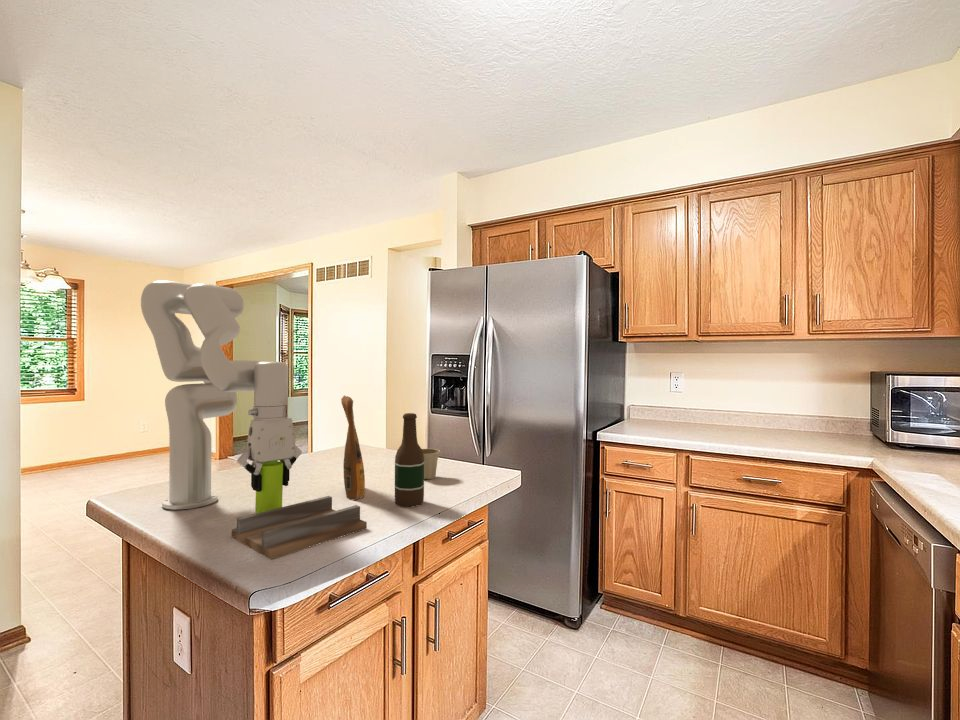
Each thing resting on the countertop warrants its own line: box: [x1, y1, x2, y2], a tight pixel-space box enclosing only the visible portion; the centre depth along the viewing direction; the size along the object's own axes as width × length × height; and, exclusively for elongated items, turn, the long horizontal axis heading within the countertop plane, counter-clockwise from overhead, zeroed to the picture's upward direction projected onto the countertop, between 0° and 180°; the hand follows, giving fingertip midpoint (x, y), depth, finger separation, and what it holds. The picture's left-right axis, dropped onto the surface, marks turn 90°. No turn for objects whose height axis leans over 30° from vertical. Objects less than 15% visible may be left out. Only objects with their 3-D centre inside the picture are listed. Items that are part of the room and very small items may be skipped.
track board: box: [231, 495, 368, 560], centre depth 104 cm, size 18×22×4 cm
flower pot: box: [421, 448, 441, 481], centre depth 154 cm, size 9×9×9 cm
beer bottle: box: [394, 412, 425, 508], centre depth 126 cm, size 8×8×24 cm
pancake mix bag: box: [340, 394, 366, 501], centre depth 136 cm, size 7×19×28 cm, turn 16°
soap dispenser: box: [254, 437, 286, 514], centre depth 113 cm, size 6×7×20 cm
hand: (270, 487), depth 113 cm, fingers closed on soap dispenser, 5 cm apart
